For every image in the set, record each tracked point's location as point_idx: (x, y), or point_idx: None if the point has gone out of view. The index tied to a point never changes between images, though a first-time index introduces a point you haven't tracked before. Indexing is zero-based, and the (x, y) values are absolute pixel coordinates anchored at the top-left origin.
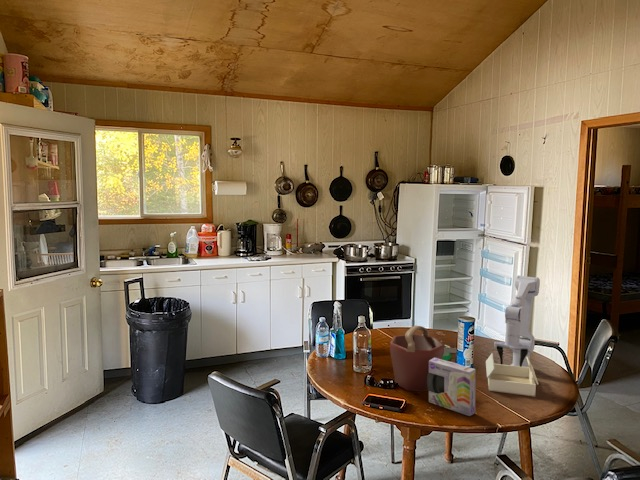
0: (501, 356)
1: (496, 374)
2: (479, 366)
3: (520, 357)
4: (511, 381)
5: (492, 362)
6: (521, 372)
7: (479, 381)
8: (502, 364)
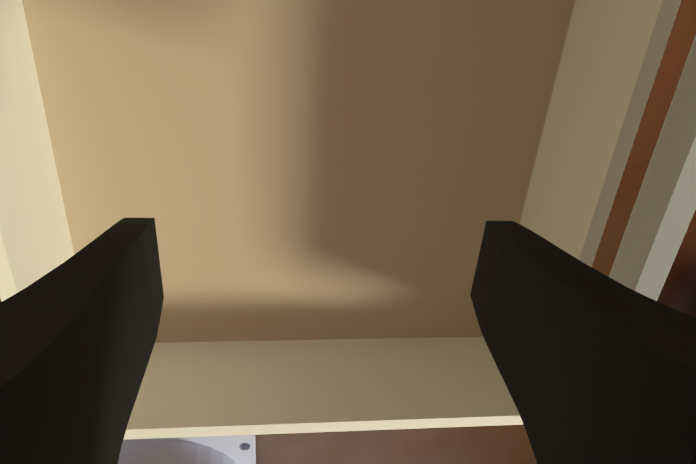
0: (612, 298)
1: (419, 320)
2: (525, 449)
3: (114, 410)
4: (283, 185)
5: (690, 211)
6: (161, 375)
7: (644, 110)
8: (487, 222)
